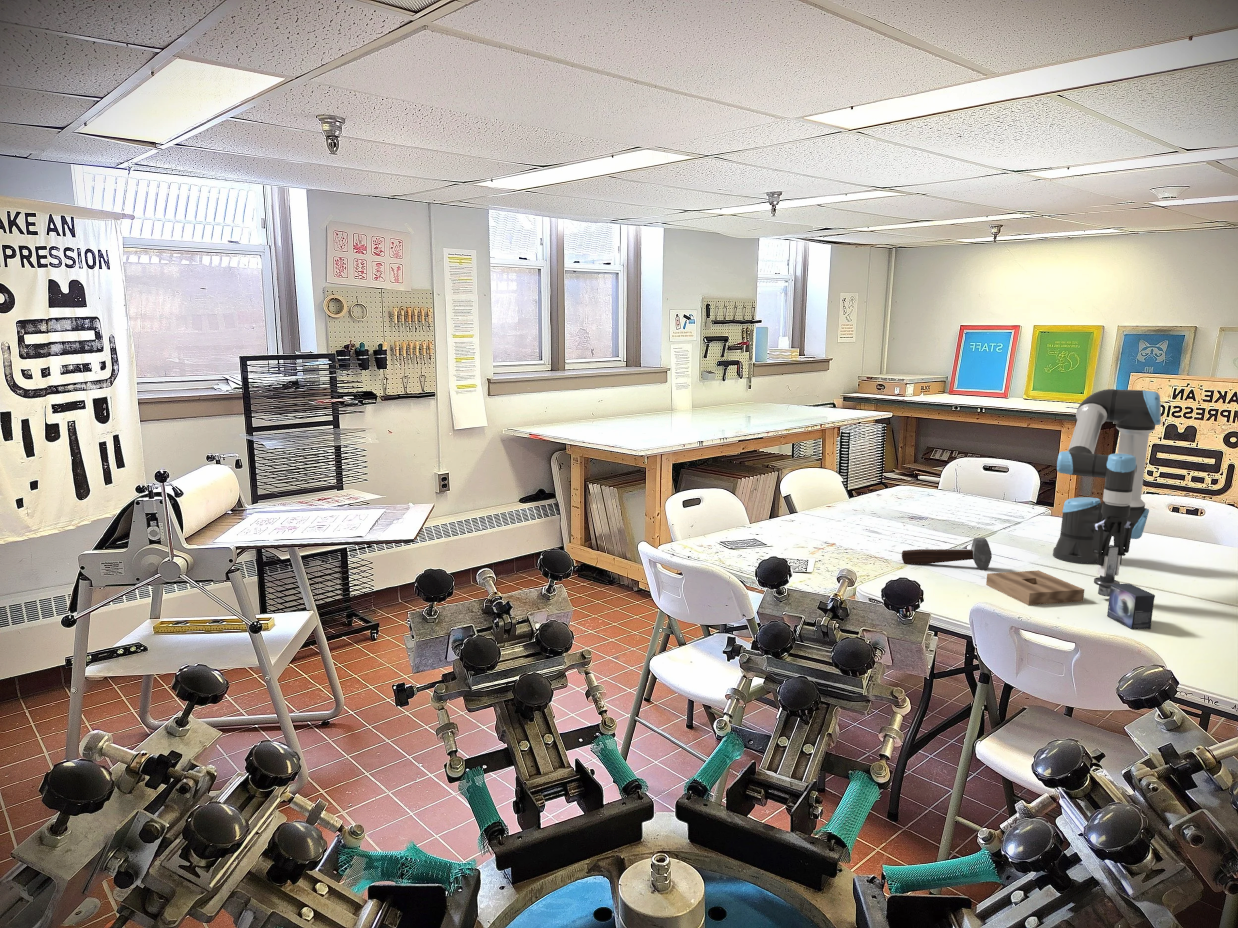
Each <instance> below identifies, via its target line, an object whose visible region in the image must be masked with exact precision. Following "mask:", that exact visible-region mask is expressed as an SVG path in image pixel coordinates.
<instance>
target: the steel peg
mask: <svg viewBox="0 0 1238 928" xmlns="http://www.w3.org/2000/svg"><path fill="white" fill-rule="evenodd" d="M1118 548H1119V547H1118V546H1115V545H1114V544H1109V547H1108V551H1107V554H1106V556H1108V563H1107V571H1106V576H1105V577H1104V576H1101V575H1099V577H1095V578H1094V579H1093V584H1095V585H1097V586H1098V587H1097V588H1098V590H1097V594H1098V595H1099V596H1102V597H1107V598H1108V597H1109V596H1110V587H1111V584H1121V582H1120V581H1119V580H1116V575H1115V572H1116V564H1117V556H1118Z"/></svg>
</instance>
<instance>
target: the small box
mask: <svg viewBox="0 0 1238 928" xmlns="http://www.w3.org/2000/svg"><path fill="white" fill-rule="evenodd" d="M1155 597H1156V595H1155V594H1154V593H1151V592H1149V591H1147V590H1145V589H1143V588H1140V587H1138V586H1136V585H1134V584H1131V583H1127V582H1126V583H1120V584H1111V587H1110V596H1109V599H1108V605H1107V606H1108V607H1107V612H1106V613H1107V615H1106V617H1107V618H1110V620H1113V621H1115V622H1117V623H1119V624H1121V625H1123V626H1125V627H1126V628H1128V629H1130V630H1150V629H1152V620H1153V619H1152V618H1153V611H1154V604H1155Z"/></svg>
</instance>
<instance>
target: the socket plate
mask: <svg viewBox="0 0 1238 928" xmlns="http://www.w3.org/2000/svg"><path fill="white" fill-rule="evenodd" d="M985 585H986V586H987V587H989V588H992V589H994V590H996V591H997V592H1000V593H1003V594H1004V595H1006V596H1007V597H1011V599H1012V598H1013V599H1014V600H1017V601H1019V602H1020V603H1023V604H1024V605H1027V606H1037V605H1038V606H1040V605H1041V606H1042V605H1052V604H1053V605H1054V604H1064V603H1065V604H1067V603H1080V602H1081V603H1082V602H1084V598H1085V596H1084V595H1085V589H1084V588H1082V587H1079V586H1077V585H1075V584H1072V583H1070V582H1068V581H1066V580H1063V579H1061V578H1058V577H1055V576H1053V575H1051V574H1048V573H1046V572H1044V571H1041V570H1039V569H1038V570H1027V571H1026V570H1025V571H1024V570H1022V571H1008V572H1006V571H1005V572H990V573H989V572H988V573H986V583H985Z"/></svg>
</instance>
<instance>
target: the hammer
mask: <svg viewBox="0 0 1238 928" xmlns="http://www.w3.org/2000/svg"><path fill="white" fill-rule="evenodd" d="M970 547H971V548H970V549H959V548H957V549H955V548H953V549H945V548H944V549H941V548H935V549H933V548H931V549H930V548H928V549H926V548H925V549H923V548H921V549H918V548H917V549H907V550H905V549H904V550H902V552H901V560H902V563H903V564H904V565H911V566H912V565H928V564H939V563H949V562H959V561H960V562H961V561H967V560H969V561H970V560H971V561H972V560H973V562H974V564H975V565H976V567H977V569H978V570H980V571H987V570H988V569H989V566H990V564H991V561H992V556H993V555H992V550H991V547H990V545H989V542H988V540H987V538H985V537H974V538H973V540H972V543H971V546H970Z"/></svg>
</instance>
